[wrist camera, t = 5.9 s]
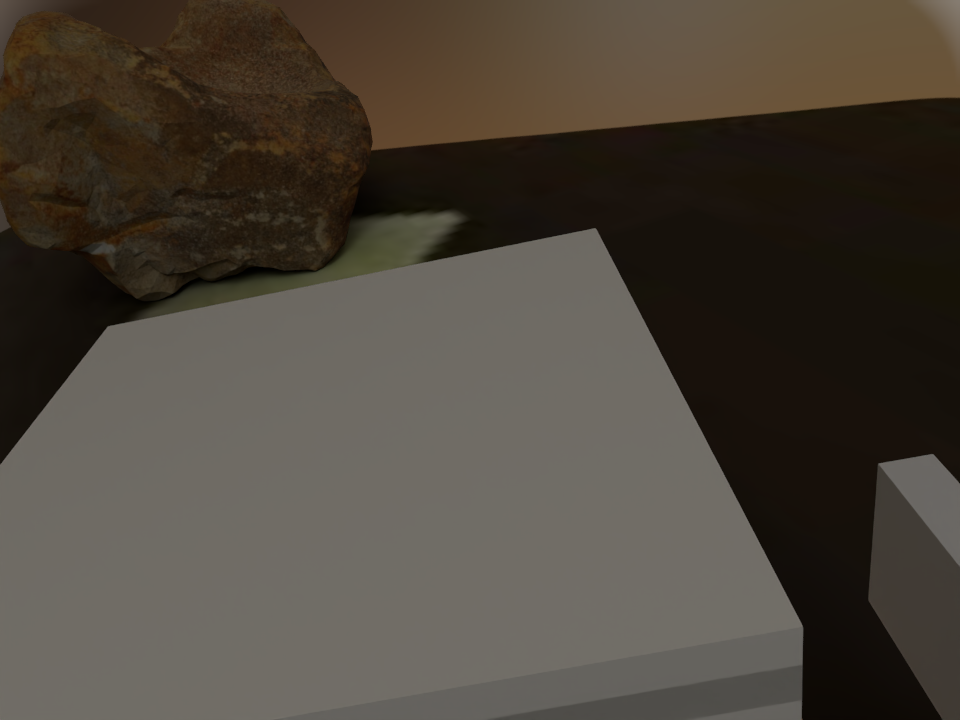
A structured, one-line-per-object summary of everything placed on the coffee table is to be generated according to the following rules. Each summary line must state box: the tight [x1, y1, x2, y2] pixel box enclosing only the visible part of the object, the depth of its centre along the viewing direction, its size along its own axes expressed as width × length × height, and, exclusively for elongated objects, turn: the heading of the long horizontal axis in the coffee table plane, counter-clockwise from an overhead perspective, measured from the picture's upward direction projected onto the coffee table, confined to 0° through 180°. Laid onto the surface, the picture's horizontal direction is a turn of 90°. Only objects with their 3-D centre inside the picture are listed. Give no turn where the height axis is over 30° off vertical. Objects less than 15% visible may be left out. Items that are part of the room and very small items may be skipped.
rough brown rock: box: [0, 0, 372, 301], centre depth 45 cm, size 23×17×15 cm
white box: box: [0, 228, 803, 720], centre depth 12 cm, size 8×8×10 cm
